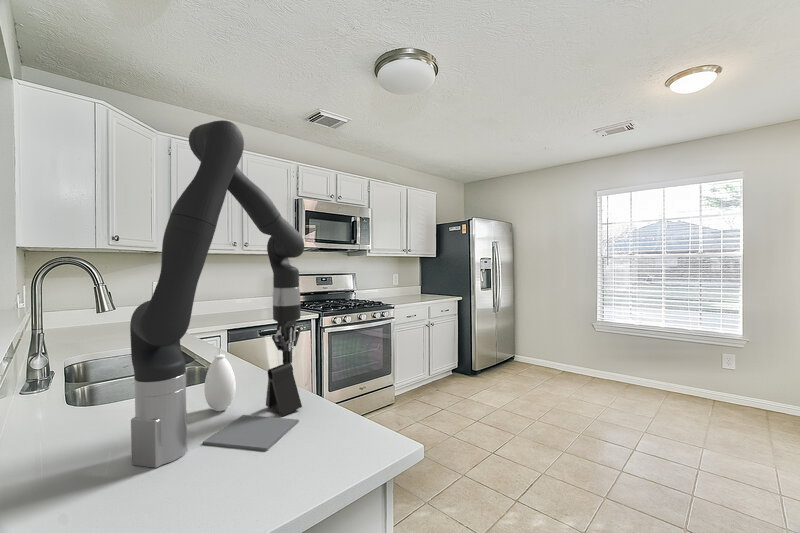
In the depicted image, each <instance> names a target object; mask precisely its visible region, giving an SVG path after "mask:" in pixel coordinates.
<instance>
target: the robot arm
mask: <svg viewBox="0 0 800 533" xmlns="http://www.w3.org/2000/svg"><path fill="white" fill-rule="evenodd" d="M188 145H189V148H190V150H191V152H192V153H193V155H194V156H195V158H197V160H198V161H199V162H200V163H199V167H198V169H197V172H196V173H195V175H194V177H193V179H192V180H191V181H190V183H189V184H188V185H187V187H186V188H185V189H184V191H183V192H182V193H181V194H180V195H179V198H178V199H177V201H176V202H175V204H174V206H173V208H172V210H171V212H170V215H169V218H168V220H167V221H168V222H167V224H166V227H165V229H164V234H163V237H162V238H163V239H162V244H161V264H160V265H161V266H160V273H159V277H158V281H157V283H156V286H155V288H154V291H153V293H152V295H151V296H152V297H151V298H150V300H147V301H145V302H143V303H141V304H139V305H138V306H137V307H136V308H135V309H134V311H133V313H132V315H131V316H130V317H131V318H130V325H129V328H130V329H129V330H130V332H129V333H130V351H131V352H130V353H131V354H130V355H131V363H132V366H133V373H134V375H133V376H134V417H132V418H131V419H130V433H131V434H130V441H131V442H130V443H131V444H130V446H131V465H132V466H139V467H146V468H147V467H148V468H154V469H155V468H158V467H160V466H162V465H165V464H168V463H171V462H174V461H176V460H178V459H180V458H181V457H183V456H184V455H185V454H186V453H187V451H188V434H187V433H188V430H187V429H188V428H187V427H188V426H187V423H188V420H187V384H186V383H187V382H186V381H187V377H186V375H187V374H186V372H187V370H186V367H187V366H186V359H185V357H184V354H183V353H182V348H181V347H182V346H181V339H183V338H184V336H185V335H186V333H187V332H188V329H189V326H190V323H191V318H192V313H193V306H194V300H195V296H196V292H197V288H198V283H199V280H200V277H201V275H202V274H201V273H202V271H203V269H204V266H205V263H206V260H207V256H208V253H209V249H210V248H211V245H212V242H213V239H214V236H215V232H216V230H217V229H216V228H217V224H218V221H219V217H220V214H221V210H222V209H223V204H224V202H225V200H226V196H227V192H229V193H230V194H231V195H232V196H233V198H235V200H236V201H237V202H238V203H239V205H240V206H241V208H243V209H244V211H245V213H246V214H247V215H248V217H249V218H250V219H251V221H252V223H253V224H255V226H256V228H257V229H258V230H259V231H260V233H262V234H264V235H268V236H270V237H269V238H268V241H267V245H266V252H267V256H268V259H269V264H270V267H271V270H272V274H273V275H272V276H273V278H272V279H273V284H272V285H273V292H272V319H273V321H275V322H277V326H276V333H275V334H272V335H271V339H272V341H273V343H274V345H275V347H276V349H277V350H278V351H281V352H282V364H285V363H288V362H289V363H291V364H292V363H293V350H294V347H296V346H297V344H298V342H299V338H300V334H301V331H302V330H301V327H298V326H297V325H298V323H297V321H298V320H300V319H301V291H300V271H299V268H297V267H296V266H293V265H291V264H290V263H291V262H290V260H289V259H290V258H292V259H294V258H298V257H300V256H302V255H303V253H304V251H305V242H304V239H303V236H302V235H301V233H300V232H299V231H298V230H297V229H296V228H295V227H293V225H292V224H291V223H290V222H289V221H287V219H285V218H284V217H283V216H282V215H281V213H280V212H279V210H278V209H277V207H276V205H275V204H274V202H273V201H272V199H271V198H270V197H269V196H268V195H267V193H265V192H264V191H263V190H262V189H261V188H260V187H259V186H258V185H257V184H255V183H254V182H253V181H252V180H250V178H248V177H247V176H246V175H245V174H244V172H242V171H241V169H240V168H239V167H238V165H239V163H240V161H241V158H242V156H243V153H244V147H245V140H244V136H243V134H242V131H241V129H240V128H239V127H238V125H237V124H235V123H234V122H232V121H228V120H221V119H220V120H213V121H211V122H207V123H202V124H199V125H197V126H194V128H193V129H191V131H190V132H189V135H188ZM289 363H288V364H289Z"/></svg>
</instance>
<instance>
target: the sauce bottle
mask: <svg viewBox="0 0 800 533" xmlns="http://www.w3.org/2000/svg"><path fill="white" fill-rule="evenodd" d="M221 351H222V350H221V346H220V345H219V346H218V354H216V355H215V356H214V359H213V360H212V362H211V363H210V365H209V367H208V369H207V372H206V376H205V381H204V388H203V389H204V398H205V401H206V403H207V404H208V406H209V408H210V409H212V410H213V411H215V412H220V413H221V412H223V411H225V410H227V409H228V408H229V406H231V405H232V403H233V401H234V399H235V396H236V391H237V390H236V387H237V386H236V385H237V384H236V377H235V373H234V370H233V368H232V365H231V364H230V362H229V361H228V359H227V358H226V355H225V354H222V353H221Z"/></svg>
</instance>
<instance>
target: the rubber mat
mask: <svg viewBox="0 0 800 533" xmlns="http://www.w3.org/2000/svg"><path fill="white" fill-rule="evenodd" d="M298 423H300V419H297V418H296V419H295V418H283V417H274V416H273V417H271V416H261V415H260V416H259V415H249V414H248V415H247V414H242V415H241V416H239V417H238V418H236V419H234V420H233V421H232V422H230V423H229V424H227V425H225V426H224V427H223V428H220V429H219V430H218V431H216V432H215V433H214V434H212V435H210V436H209V437H207V438H206V439H204V440H202V445H206V446H207V445H208V446H214V447H215V446H216V447H217V446H219V447H227V448H236V449H244V450H245V449H247V450H255V451H256V450H257V451H264V452H268V450H270V449H271V448H272V447H273V446H275V444H276V443H278V441H279V440H281V439H282V438H283V437H284V436H285V435H286V434H287V433H288V432H289V431H290V430H292V428H294V427H295V426H296V425H298Z"/></svg>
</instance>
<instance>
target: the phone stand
mask: <svg viewBox="0 0 800 533" xmlns="http://www.w3.org/2000/svg"><path fill="white" fill-rule="evenodd" d="M288 363H289V362H288ZM288 363H285V364H283V363H282V364H280V365H277V366H274V367H272V368H269V369H268V370H267V378H268V381H267V387H266V388H267V390H266V398H265V407H267V408H268V409H270V410H272V411H273V412H275V413H276V414H278V415H279V416H280V417H284V416H287V415H288V414H290V413H292V412H295V411H296V410H299V409H301V408H303V406H302V402H301V398H300V393H299V390H298V386H297V383H296V379H295V375H294V368H293V364H292V363H289V364H288Z"/></svg>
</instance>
